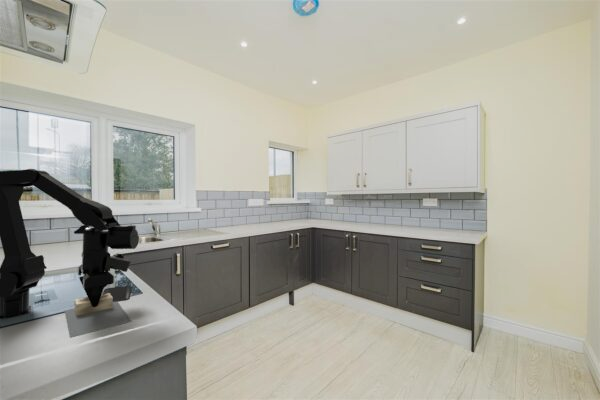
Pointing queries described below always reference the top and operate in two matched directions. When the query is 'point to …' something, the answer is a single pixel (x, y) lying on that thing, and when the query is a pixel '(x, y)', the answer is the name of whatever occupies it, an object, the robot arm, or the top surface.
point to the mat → (95, 320)
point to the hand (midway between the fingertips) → (93, 304)
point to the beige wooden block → (85, 305)
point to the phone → (119, 293)
